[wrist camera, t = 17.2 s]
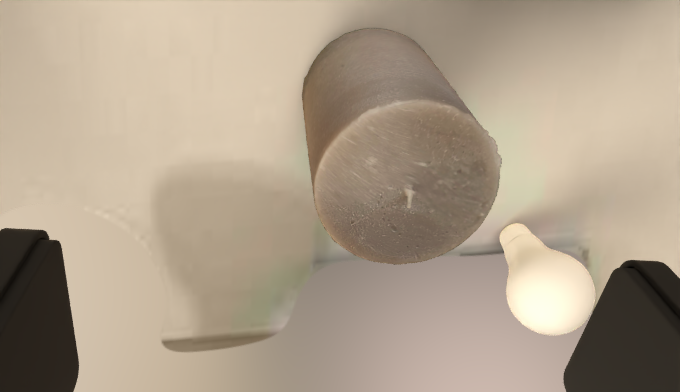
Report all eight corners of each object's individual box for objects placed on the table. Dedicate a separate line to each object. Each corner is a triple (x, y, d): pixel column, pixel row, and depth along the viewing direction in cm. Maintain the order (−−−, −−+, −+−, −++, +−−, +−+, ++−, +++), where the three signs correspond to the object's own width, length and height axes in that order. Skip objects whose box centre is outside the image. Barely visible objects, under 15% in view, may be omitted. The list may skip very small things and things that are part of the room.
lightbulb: (520, 186, 45) (584, 272, 36) (559, 228, 48) (627, 318, 39) (461, 231, 47) (506, 325, 38) (501, 269, 50) (553, 365, 40)
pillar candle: (350, 176, 43) (380, 310, 30) (274, 77, 38) (272, 186, 26) (460, 107, 41) (543, 221, 28) (394, -6, 36) (457, 68, 24)
